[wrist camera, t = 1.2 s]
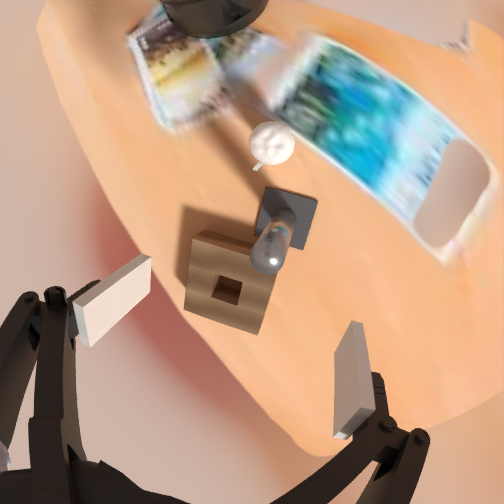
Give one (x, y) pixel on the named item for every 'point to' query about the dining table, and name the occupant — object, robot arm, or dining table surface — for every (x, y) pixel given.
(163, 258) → the dining table surface
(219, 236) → the hole block
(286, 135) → the milkshake
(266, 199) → the mat
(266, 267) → the pin
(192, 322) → the dining table surface
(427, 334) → the dining table surface
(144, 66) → the dining table surface
